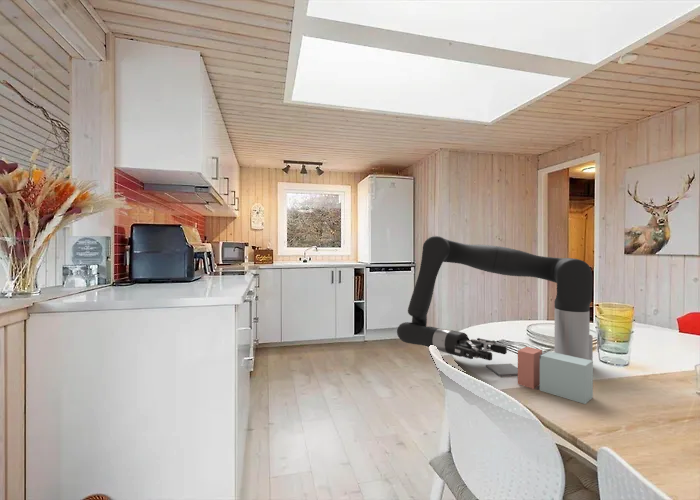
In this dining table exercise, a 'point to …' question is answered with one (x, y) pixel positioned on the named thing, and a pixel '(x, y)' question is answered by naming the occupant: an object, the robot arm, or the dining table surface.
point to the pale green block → (566, 376)
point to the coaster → (503, 369)
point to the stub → (529, 367)
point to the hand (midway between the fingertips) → (499, 353)
